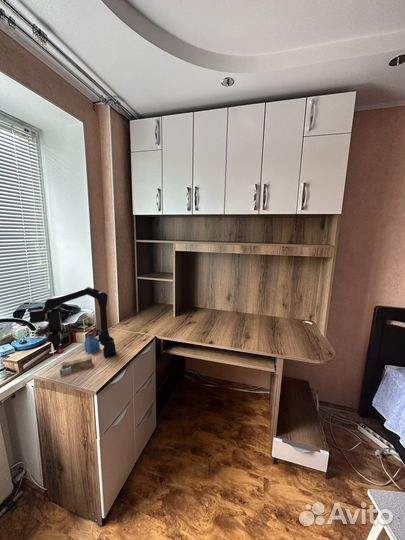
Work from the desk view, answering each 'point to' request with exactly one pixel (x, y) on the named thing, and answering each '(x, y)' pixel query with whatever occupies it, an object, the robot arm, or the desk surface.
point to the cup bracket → (65, 371)
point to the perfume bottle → (91, 343)
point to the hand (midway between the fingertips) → (58, 346)
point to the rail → (78, 364)
